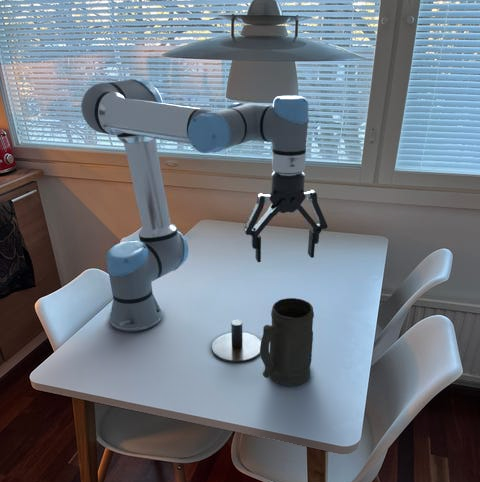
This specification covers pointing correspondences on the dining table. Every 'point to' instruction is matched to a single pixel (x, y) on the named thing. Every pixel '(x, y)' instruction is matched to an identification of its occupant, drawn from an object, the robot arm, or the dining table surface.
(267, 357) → the beer stein
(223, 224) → the dining table surface
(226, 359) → the lid
